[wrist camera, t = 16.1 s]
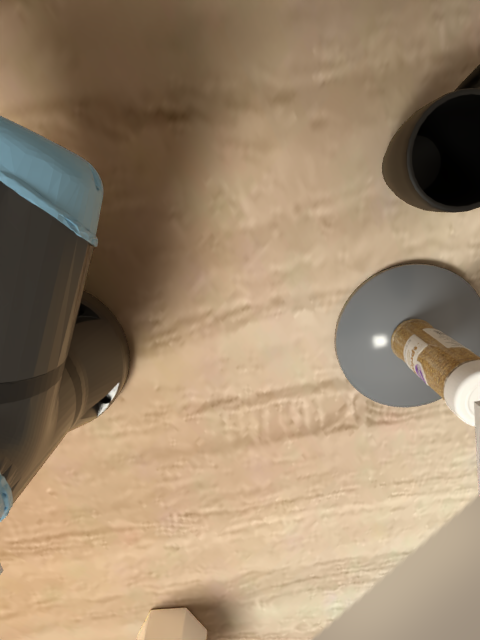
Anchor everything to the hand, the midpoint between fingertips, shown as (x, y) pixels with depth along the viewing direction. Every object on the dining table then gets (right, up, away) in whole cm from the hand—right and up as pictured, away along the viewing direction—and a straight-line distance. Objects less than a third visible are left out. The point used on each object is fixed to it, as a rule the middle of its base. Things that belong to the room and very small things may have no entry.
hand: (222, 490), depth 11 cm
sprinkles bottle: (+18, +3, +31) cm, 36 cm away
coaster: (+18, +3, +32) cm, 37 cm away
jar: (-8, -35, +43) cm, 56 cm away
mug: (+17, +20, +27) cm, 38 cm away
